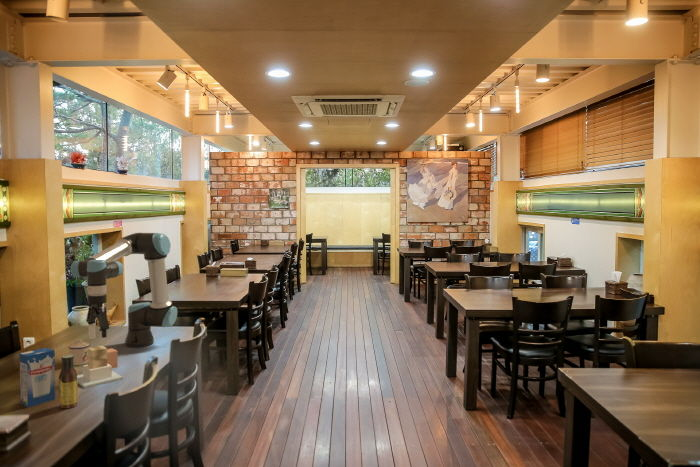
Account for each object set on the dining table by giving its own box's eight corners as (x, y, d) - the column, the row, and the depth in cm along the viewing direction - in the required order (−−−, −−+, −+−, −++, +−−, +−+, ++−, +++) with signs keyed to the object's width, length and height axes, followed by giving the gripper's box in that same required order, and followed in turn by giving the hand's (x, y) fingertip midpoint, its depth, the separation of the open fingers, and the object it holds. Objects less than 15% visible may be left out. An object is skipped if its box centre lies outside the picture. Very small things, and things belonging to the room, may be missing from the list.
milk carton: (27, 407, 185) (27, 356, 184) (19, 404, 188) (19, 353, 187) (55, 399, 194) (54, 350, 193) (47, 396, 197) (46, 347, 196)
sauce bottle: (64, 403, 190) (63, 353, 189) (80, 402, 191) (80, 353, 190) (55, 409, 184) (55, 358, 183) (72, 409, 184) (72, 358, 183)
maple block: (102, 362, 222) (102, 345, 221) (107, 365, 217) (107, 348, 217) (88, 365, 217) (87, 348, 217) (92, 368, 213) (92, 350, 213)
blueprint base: (109, 370, 229) (109, 358, 228) (122, 379, 218) (122, 366, 218) (71, 378, 217) (71, 365, 217) (84, 388, 206) (84, 374, 206)
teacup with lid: (86, 365, 236) (86, 341, 235) (66, 366, 234) (66, 342, 233) (94, 358, 248) (93, 335, 247) (74, 359, 246) (74, 336, 245)
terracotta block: (112, 364, 239) (112, 348, 238) (117, 367, 234) (117, 350, 234) (99, 367, 234) (99, 350, 234) (104, 369, 230) (104, 353, 230)
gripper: (78, 291, 222) (78, 337, 223) (98, 299, 205) (99, 348, 206) (95, 289, 227) (96, 334, 228) (116, 297, 210) (117, 345, 211)
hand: (97, 341), depth 217 cm, fingers open, 13 cm apart
